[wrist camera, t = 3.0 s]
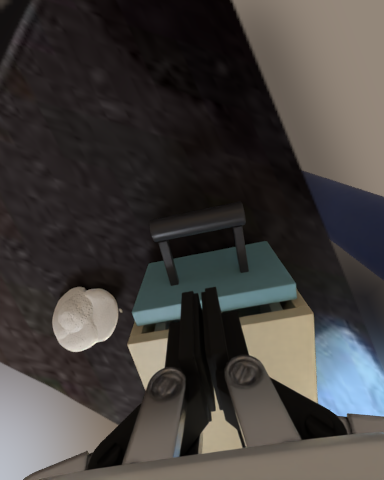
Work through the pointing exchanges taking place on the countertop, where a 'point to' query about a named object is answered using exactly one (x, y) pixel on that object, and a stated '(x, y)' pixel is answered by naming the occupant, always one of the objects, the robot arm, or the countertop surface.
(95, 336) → the dumpling
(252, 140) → the countertop surface
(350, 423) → the robot arm
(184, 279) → the drawer
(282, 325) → the cabinet
